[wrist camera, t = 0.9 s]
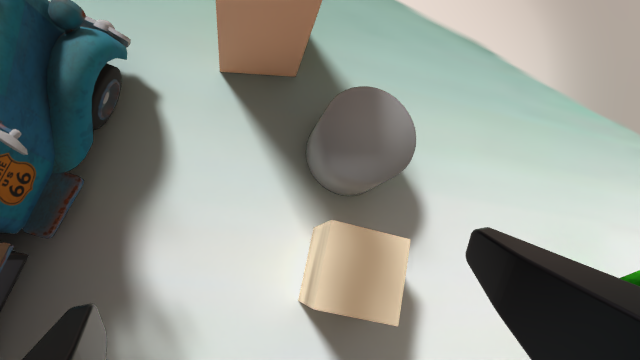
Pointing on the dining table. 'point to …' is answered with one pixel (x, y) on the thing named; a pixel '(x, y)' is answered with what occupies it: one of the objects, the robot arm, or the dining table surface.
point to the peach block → (264, 35)
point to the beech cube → (355, 272)
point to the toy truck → (48, 113)
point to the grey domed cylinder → (360, 141)
